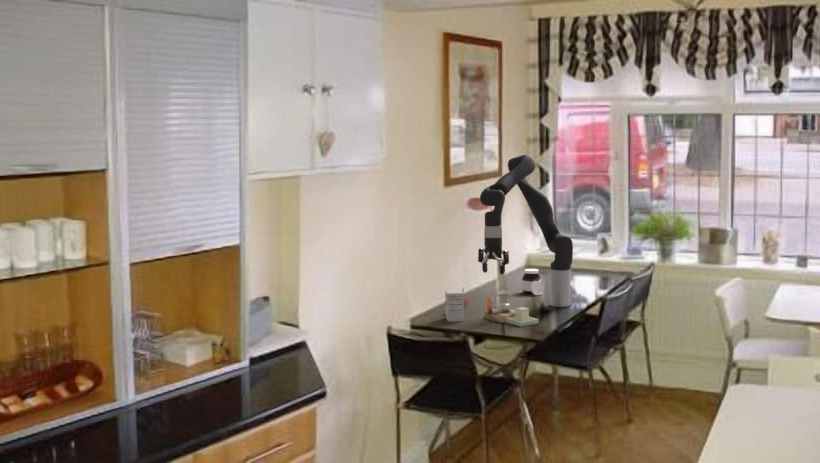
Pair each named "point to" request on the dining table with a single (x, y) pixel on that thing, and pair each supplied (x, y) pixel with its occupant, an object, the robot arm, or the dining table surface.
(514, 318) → the tray
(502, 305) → the crank
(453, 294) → the supplement box
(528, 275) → the spread jar
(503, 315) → the plinth
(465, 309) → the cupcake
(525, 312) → the block
